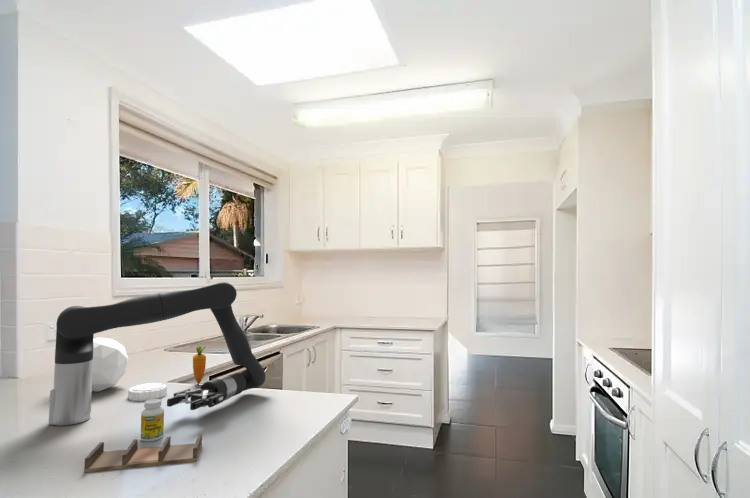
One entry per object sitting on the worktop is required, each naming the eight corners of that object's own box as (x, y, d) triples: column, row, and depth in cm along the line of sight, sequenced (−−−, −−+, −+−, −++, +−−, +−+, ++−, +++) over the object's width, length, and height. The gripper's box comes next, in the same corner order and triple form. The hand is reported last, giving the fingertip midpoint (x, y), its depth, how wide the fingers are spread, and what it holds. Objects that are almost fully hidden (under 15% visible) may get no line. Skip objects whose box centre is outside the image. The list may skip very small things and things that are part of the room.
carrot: (194, 382, 167) (195, 344, 168) (207, 382, 168) (208, 343, 169) (189, 385, 162) (191, 346, 163) (203, 385, 163) (204, 346, 164)
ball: (106, 410, 154) (113, 372, 145) (50, 392, 151) (54, 352, 143) (135, 373, 171) (143, 337, 162) (85, 356, 168) (90, 319, 160)
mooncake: (174, 393, 153) (174, 383, 153) (149, 402, 142) (150, 392, 142) (145, 390, 156) (146, 380, 156) (119, 400, 144) (120, 389, 144)
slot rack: (84, 472, 92) (84, 458, 92) (99, 455, 100) (99, 442, 101) (196, 461, 98) (197, 447, 98) (202, 445, 106) (202, 433, 106)
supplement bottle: (162, 432, 115) (163, 396, 115) (164, 439, 110) (165, 401, 111) (139, 436, 112) (140, 400, 112) (141, 443, 107) (142, 405, 108)
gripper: (201, 376, 138) (160, 388, 123) (237, 380, 133) (199, 394, 118) (200, 399, 137) (159, 415, 122) (236, 404, 132) (199, 421, 117)
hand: (179, 404), depth 120 cm, fingers open, 8 cm apart
